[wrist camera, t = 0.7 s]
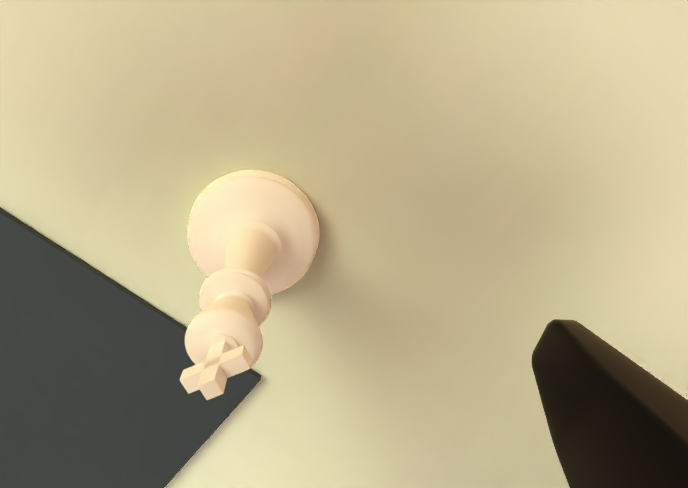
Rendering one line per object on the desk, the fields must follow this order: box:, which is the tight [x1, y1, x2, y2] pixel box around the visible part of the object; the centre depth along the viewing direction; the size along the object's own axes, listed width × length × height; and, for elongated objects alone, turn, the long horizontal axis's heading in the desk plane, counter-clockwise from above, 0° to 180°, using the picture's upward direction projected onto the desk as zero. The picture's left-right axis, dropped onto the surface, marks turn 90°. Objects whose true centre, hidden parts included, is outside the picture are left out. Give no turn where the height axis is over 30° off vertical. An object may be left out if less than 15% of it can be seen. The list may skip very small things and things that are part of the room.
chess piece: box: [180, 170, 320, 400], centre depth 19 cm, size 5×5×10 cm
